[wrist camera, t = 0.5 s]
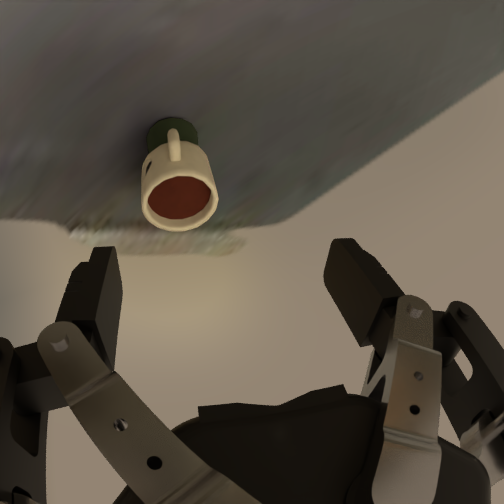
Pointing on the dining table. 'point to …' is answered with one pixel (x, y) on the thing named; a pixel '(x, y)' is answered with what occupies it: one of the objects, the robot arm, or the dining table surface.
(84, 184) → the dining table surface
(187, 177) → the trophy cup
